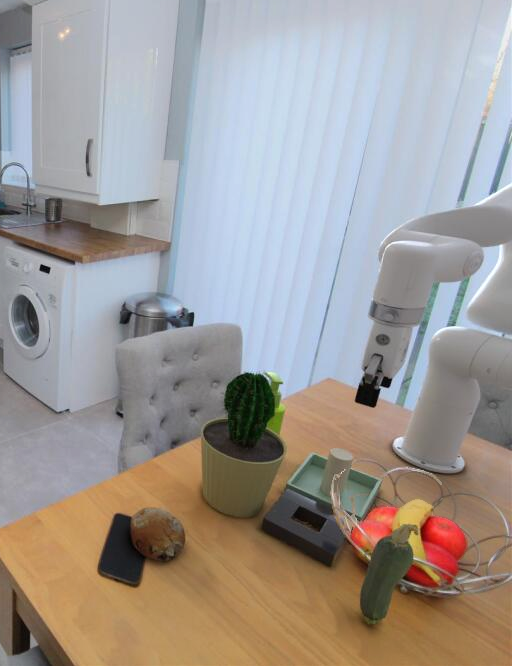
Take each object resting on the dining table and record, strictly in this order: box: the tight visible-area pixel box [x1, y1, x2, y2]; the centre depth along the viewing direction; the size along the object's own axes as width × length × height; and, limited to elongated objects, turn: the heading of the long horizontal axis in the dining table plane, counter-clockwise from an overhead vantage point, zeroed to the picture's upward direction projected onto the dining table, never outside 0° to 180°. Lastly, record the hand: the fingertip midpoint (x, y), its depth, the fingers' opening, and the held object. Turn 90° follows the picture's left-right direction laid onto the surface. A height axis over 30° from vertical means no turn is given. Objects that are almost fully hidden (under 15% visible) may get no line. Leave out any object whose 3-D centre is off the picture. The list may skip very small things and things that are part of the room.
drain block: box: [260, 489, 348, 568], centre depth 91 cm, size 12×12×3 cm
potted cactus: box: [200, 369, 288, 518], centre depth 95 cm, size 15×15×30 cm
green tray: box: [283, 451, 383, 522], centre depth 100 cm, size 15×13×3 cm
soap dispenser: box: [263, 371, 286, 436], centre depth 111 cm, size 6×7×20 cm
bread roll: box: [129, 506, 186, 562], centre depth 90 cm, size 10×10×8 cm
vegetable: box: [359, 523, 421, 626], centre depth 72 cm, size 4×4×20 cm
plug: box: [320, 447, 354, 497], centre depth 99 cm, size 4×4×10 cm
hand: (372, 394), depth 92 cm, fingers open, 9 cm apart
